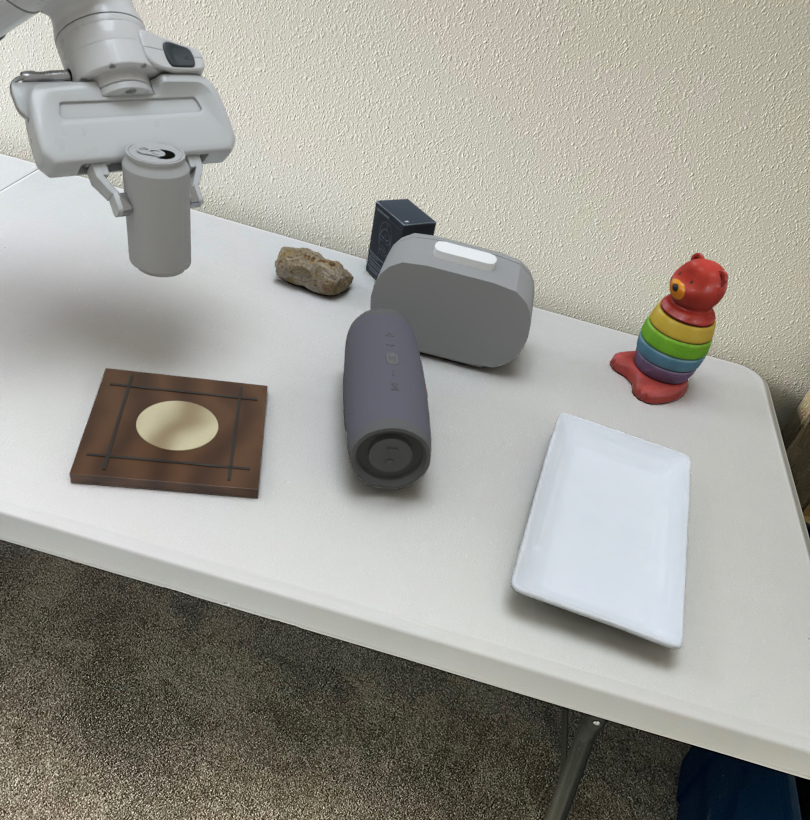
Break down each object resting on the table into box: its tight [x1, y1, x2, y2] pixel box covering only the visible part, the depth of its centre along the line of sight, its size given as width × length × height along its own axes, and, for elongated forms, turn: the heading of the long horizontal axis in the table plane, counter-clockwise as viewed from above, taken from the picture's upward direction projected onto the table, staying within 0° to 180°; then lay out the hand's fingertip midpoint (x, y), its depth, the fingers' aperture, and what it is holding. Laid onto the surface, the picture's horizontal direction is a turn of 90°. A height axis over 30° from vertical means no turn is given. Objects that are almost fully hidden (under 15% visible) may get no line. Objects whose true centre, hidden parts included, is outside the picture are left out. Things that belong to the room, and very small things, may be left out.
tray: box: [510, 412, 692, 650], centre depth 84 cm, size 17×31×4 cm, turn 163°
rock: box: [274, 245, 354, 296], centre depth 110 cm, size 8×11×4 cm
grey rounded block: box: [369, 233, 535, 369], centre depth 102 cm, size 21×10×13 cm, turn 80°
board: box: [68, 367, 269, 499], centre depth 84 cm, size 18×18×1 cm
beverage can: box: [121, 142, 192, 278], centre depth 80 cm, size 6×6×12 cm
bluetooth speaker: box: [342, 308, 432, 490], centre depth 87 cm, size 23×9×10 cm, turn 4°
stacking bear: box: [609, 252, 729, 405], centre depth 104 cm, size 11×10×18 cm
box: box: [365, 198, 437, 280], centre depth 113 cm, size 8×6×11 cm
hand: (161, 210), depth 80 cm, fingers closed on beverage can, 6 cm apart
